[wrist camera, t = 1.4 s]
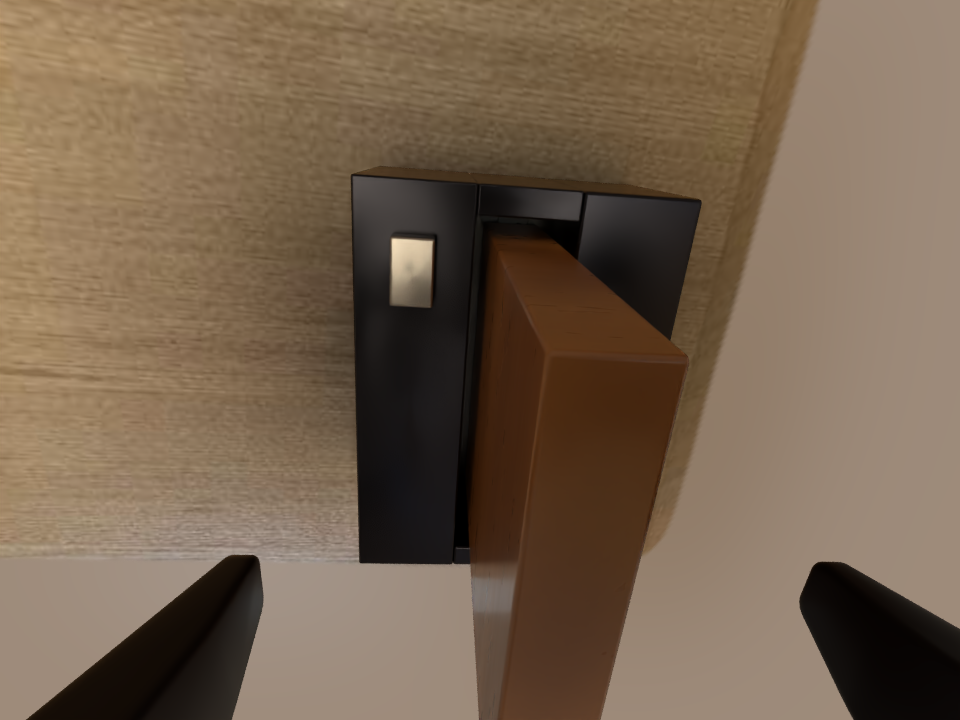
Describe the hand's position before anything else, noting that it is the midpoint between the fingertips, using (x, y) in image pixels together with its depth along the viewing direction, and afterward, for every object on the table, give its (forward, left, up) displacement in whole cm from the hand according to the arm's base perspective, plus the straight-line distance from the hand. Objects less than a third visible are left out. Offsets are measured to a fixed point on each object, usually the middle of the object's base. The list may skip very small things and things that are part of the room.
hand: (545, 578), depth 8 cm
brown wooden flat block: (0, 0, -9) cm, 9 cm away
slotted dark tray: (0, 0, -11) cm, 11 cm away
